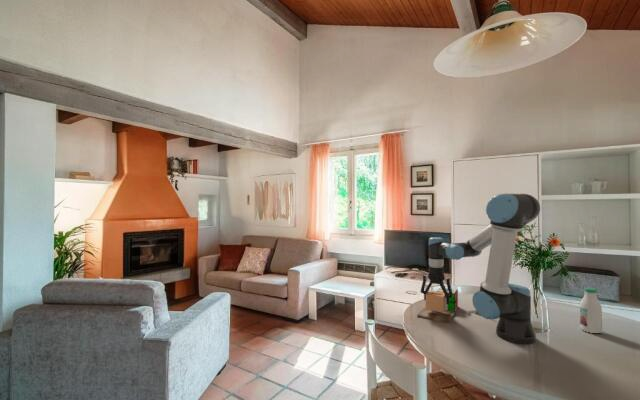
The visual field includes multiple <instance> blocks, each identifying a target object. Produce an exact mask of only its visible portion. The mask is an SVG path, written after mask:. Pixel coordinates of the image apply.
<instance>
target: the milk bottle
mask: <svg viewBox="0 0 640 400" xmlns="http://www.w3.org/2000/svg"><path fill="white" fill-rule="evenodd" d="M583 293H584V295H583V298H582V299H581V301H580V305H579V312H580V313H579V324H580V330H581V329H582V330H581V331H583V330H584V331H583V332H585V331H586V332H585V333H588V332H590V333H589V334H592V333H602V334H603V309H602V305H601V303H600V300H599V299H598V296H597V294H598V289H597V288H595V287H588V286H587V287H586V286H585V287H583Z"/></svg>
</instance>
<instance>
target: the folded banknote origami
mask: <svg viewBox="0 0 640 400" xmlns="http://www.w3.org/2000/svg"><path fill="white" fill-rule="evenodd" d="M472 314H474V315H477V316H480V317H482V316H481V315H479V313H478V312H477V311H476V310H472V309H471V310H469V311H468V313H467V315H468V317H472Z"/></svg>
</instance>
